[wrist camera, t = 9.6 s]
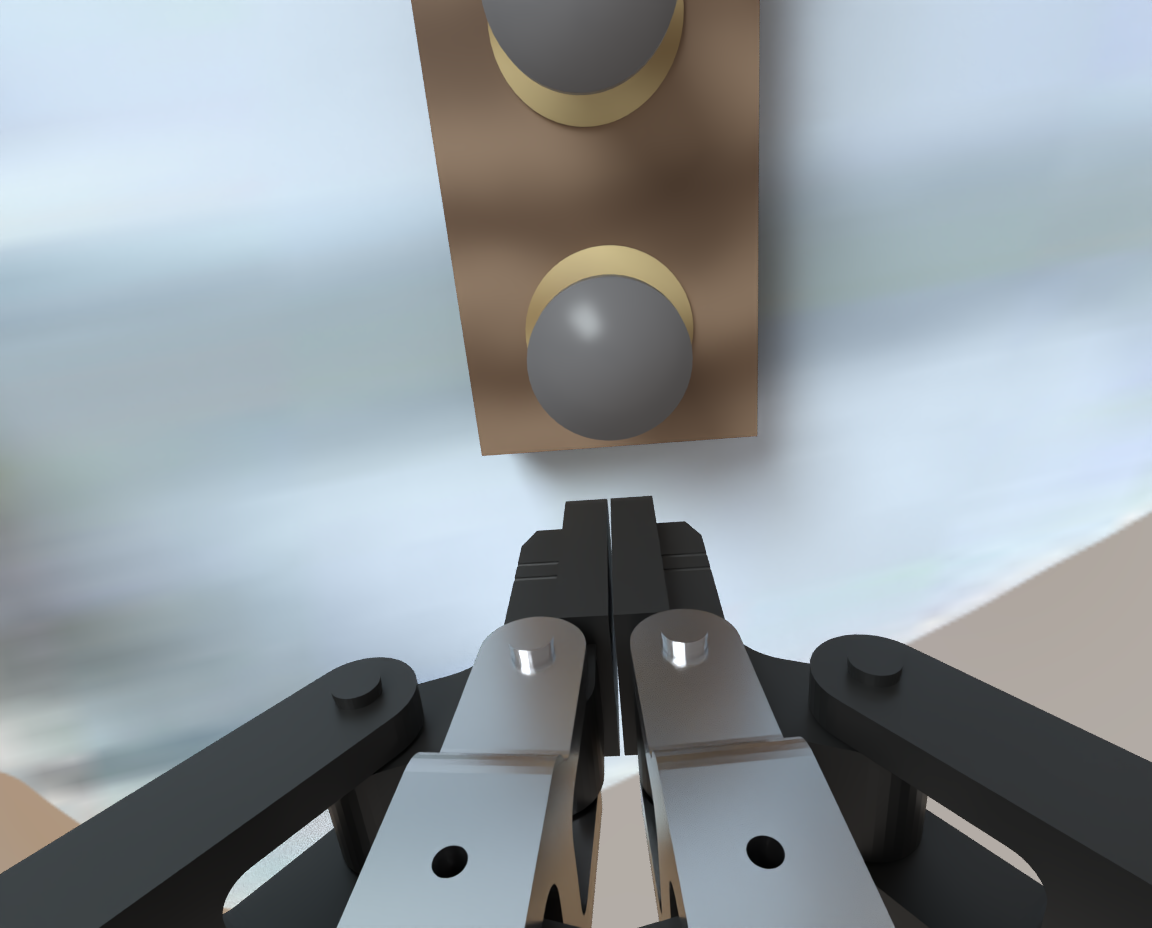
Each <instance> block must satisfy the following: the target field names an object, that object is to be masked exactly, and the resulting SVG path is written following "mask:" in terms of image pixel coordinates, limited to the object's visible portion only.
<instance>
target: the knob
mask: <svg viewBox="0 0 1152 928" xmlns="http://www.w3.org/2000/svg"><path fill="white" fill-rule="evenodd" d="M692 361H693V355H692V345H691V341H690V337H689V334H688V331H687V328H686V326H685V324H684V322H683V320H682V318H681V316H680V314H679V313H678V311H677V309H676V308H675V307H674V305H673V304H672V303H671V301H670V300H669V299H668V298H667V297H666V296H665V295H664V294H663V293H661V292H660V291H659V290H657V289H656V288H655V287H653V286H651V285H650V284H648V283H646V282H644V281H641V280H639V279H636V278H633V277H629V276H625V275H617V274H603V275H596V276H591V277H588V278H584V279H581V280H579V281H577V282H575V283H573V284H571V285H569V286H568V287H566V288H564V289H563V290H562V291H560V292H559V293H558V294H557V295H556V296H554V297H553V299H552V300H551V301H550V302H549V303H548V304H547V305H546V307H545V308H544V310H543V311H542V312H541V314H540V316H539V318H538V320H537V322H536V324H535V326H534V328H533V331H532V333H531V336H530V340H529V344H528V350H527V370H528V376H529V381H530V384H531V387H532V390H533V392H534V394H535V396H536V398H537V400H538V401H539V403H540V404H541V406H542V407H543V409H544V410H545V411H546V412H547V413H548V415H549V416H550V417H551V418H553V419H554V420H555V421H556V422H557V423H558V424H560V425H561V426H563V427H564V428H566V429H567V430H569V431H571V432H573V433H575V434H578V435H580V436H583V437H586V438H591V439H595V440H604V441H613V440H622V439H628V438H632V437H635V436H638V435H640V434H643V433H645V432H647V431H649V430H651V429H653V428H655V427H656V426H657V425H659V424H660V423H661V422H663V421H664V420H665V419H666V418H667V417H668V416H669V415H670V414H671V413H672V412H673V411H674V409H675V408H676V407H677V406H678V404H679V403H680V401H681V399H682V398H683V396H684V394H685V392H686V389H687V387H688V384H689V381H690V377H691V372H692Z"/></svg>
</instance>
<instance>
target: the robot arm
mask: <svg viewBox="0 0 1152 928" xmlns="http://www.w3.org/2000/svg"><path fill="white" fill-rule="evenodd" d="M611 536H612V550H611V537H610V524H609V512H608V502H607V499H598V500H583V501H567V502H566V503H565V511H564V520H563V528H562V529H558V530H542V531H537V532H536V533H535V534H534V535H533V536H532V537H531V538H530V539H529V540H528V541H527V542H526V543H525V544H524V545H523V546H522V548H521V552H520V557H519V561H518V567H517V570H516V575H515V581H514V583H513V588H512V592H511V597H510V601H509V606H508V610H507V615H506V619H505V624H504V626H502V627H500V628H498V629H497V630H495V631H494V632H492V633H491V634H490V635H489V636H488V637H487V638H486V639H485V640H484V642H483V643H482V645H481V647H480V649H479V652H478V654H477V657H476V660H475V662H474V665H473V666H472V667H471V668H469V669H466V670H464V671H462V672H459V673H456V674H453V675H450V676H447V677H443V678H439V679H436V680H432V681H428V682H425V683H421V684H418V683H417V679H416V675H415V673H414V671H413V670H412V668H411V667H410V666H408V665H407V664H406V663H404V662H402V661H400V660H396V659H392V658H384V657H378V658H367V659H362V660H357V661H354V662H351V663H348V664H345V665H342V666H340V667H338V668H336V669H334V670H332V671H330V672H328V673H327V674H325V675H324V676H322V677H320V678H319V679H317V680H315V681H314V682H312V683H310V684H309V685H307V686H306V687H304V688H302V689H301V690H299V691H297V692H296V693H294V694H293V695H291V696H289V697H288V698H286V699H284V700H283V701H281V702H280V703H278V704H276V705H275V706H273V707H271V708H270V709H268V710H267V711H265V712H263V713H262V714H260V715H258V716H257V717H255V718H254V719H252V720H250V721H249V722H247V723H245V724H244V725H242V726H241V727H239V728H237V729H236V730H234V731H232V732H231V733H229V734H227V735H226V736H224V737H223V738H221V739H219V740H218V741H216V742H214V743H213V744H211V745H210V746H208V747H206V748H205V749H203V750H201V751H200V752H198V753H197V754H195V755H193V756H192V757H190V758H188V759H187V760H185V761H184V762H182V763H180V764H179V765H177V766H175V767H174V768H172V769H171V770H169V771H167V772H166V773H164V774H162V775H161V776H159V777H157V778H156V779H154V780H153V781H151V782H149V783H148V784H146V785H144V786H143V787H141V788H140V789H138V790H136V791H135V792H133V793H131V794H130V795H128V796H127V797H125V798H123V799H122V800H120V801H118V802H117V803H115V804H114V805H112V806H110V807H109V808H107V809H105V810H104V811H102V812H101V813H99V814H97V815H96V816H94V817H92V818H91V819H89V820H87V821H86V822H84V823H83V824H81V825H79V826H78V827H76V828H75V829H73V830H71V831H70V832H68V833H66V834H65V835H63V836H61V837H60V838H58V839H57V840H55V841H53V842H52V843H50V844H48V845H47V846H45V847H44V848H42V849H40V850H39V851H37V852H36V853H34V854H32V855H31V856H29V857H27V858H26V859H24V860H22V861H21V862H19V863H18V864H16V865H14V866H13V867H11V868H9V869H8V870H6V871H4V872H3V873H1V874H0V928H591V926H592V914H593V904H594V893H595V882H596V870H597V860H598V850H599V839H600V828H601V815H602V796H601V788H602V785H603V782H604V756H620V739H619V705H618V678H619V691H620V703H621V715H622V727H623V740H624V752H625V755H638V762H639V775H640V788H641V802H642V811H643V818H644V825H645V831H646V838H647V845H648V851H649V858H650V864H651V871H652V877H653V884H654V891H655V897H656V903H657V910H658V917H659V922H656V923H653V924H649V925H646V926H643V927H639V928H1152V762H1150V761H1148V760H1146V759H1144V758H1141V757H1139V756H1137V755H1135V754H1133V753H1131V752H1129V751H1127V750H1125V749H1123V748H1121V747H1118V746H1116V745H1114V744H1112V743H1110V742H1108V741H1106V740H1104V739H1102V738H1100V737H1097V736H1096V735H1093V734H1091V733H1089V732H1087V731H1085V730H1083V729H1081V728H1079V727H1077V726H1075V725H1072V724H1070V723H1068V722H1066V721H1064V720H1062V719H1060V718H1058V717H1056V716H1054V715H1052V714H1050V713H1047V712H1045V711H1043V710H1041V709H1039V708H1037V707H1035V706H1033V705H1031V704H1029V703H1027V702H1024V701H1022V700H1020V699H1018V698H1016V697H1014V696H1012V695H1010V694H1008V693H1006V692H1004V691H1001V690H999V689H997V688H995V687H993V686H991V685H989V684H987V683H984V682H983V681H981V680H978V679H976V678H974V677H972V676H970V675H968V674H966V673H964V672H962V671H960V670H958V669H955V668H953V667H951V666H949V665H947V664H945V663H943V662H941V661H939V660H937V659H935V658H932V657H930V656H928V655H926V654H924V653H922V652H920V651H917V650H916V649H913V648H912V647H909V646H907V645H905V644H903V643H900V642H898V641H895V640H891V639H888V638H884V637H879V636H873V635H845V636H840V637H836V638H833V639H830V640H828V641H826V642H824V643H822V644H821V645H820V646H818V647H817V648H816V649H815V651H814V652H813V654H812V656H811V659H810V664H809V663H803V662H797V661H791V660H785V659H780V658H775V657H771V656H768V655H765V654H762V653H759V652H757V651H755V650H752V649H751V648H749V647H747V646H745V645H744V644H743V642H742V640H741V638H740V635H739V634H738V632H737V630H736V629H735V628H734V627H733V626H732V624H730V623H729V622H728V621H726V620H725V618H724V615H723V611H722V607H721V604H720V600H719V597H718V593H717V589H716V586H715V582H714V579H713V575H712V572H711V570H710V564H709V561H708V557H707V555H706V550H705V546H704V543H703V539H702V536H701V534H699V533H698V532H697V531H696V530H695V529H693V528H692V527H691V526H690V525H689V524H687V523H686V522H685V521H684V522H668V523H656V518H655V511H654V505H653V498H652V496H642V497H627V498H611ZM617 666H618V670H617ZM927 796H929V797H930V798H932V799H933V800H935V801H936V802H938V803H940V804H941V805H943V806H944V807H946V808H948V809H949V810H951V811H952V812H954V813H955V814H957V815H958V816H960V817H962V818H963V819H965V820H966V821H968V822H969V823H971V824H972V825H974V826H976V827H977V828H979V829H980V830H982V831H983V832H985V833H987V834H988V835H990V836H991V837H993V838H994V839H996V840H998V841H999V842H1001V843H1002V844H1004V845H1005V846H1007V847H1009V848H1010V849H1011V850H1013V851H1014V852H1016V853H1017V854H1018V855H1019V856H1021V857H1022V858H1023V859H1024V860H1025V861H1026V862H1027V863H1028V864H1029V865H1030V866H1031V868H1032V869H1033V870H1034V871H1035V872H1036V874H1037V876H1038V877H1039V879H1040V880H1041V882H1042V884H1043V885H1041V884H1040V883H1038V882H1036V881H1035V880H1033V879H1032V878H1030V877H1029V876H1027V875H1026V874H1024V873H1023V872H1021V871H1020V870H1018V869H1017V868H1015V867H1014V866H1012V865H1011V864H1009V863H1008V862H1006V861H1004V860H1003V859H1001V858H1000V857H998V856H997V855H995V854H994V853H992V852H991V851H989V850H987V849H986V848H985V847H983V846H982V845H980V844H978V843H977V842H975V841H974V840H972V839H971V838H969V837H968V836H966V835H965V834H963V833H962V832H960V831H959V830H957V829H956V828H954V827H953V826H951V825H949V824H948V823H946V822H945V821H943V820H942V819H940V818H939V817H937V816H936V815H934V814H933V813H931V812H930V811H928V810H926V803H927ZM326 809H329V813H330V816H331V819H332V823H333V826H334V828H333V829H332V830H331V831H330V832H328V833H327V834H326V835H325V836H323V837H322V838H321V839H320V840H318V841H317V842H316V843H315V844H313V845H312V846H311V847H310V848H308V849H307V850H306V851H304V852H303V853H302V854H301V855H299V856H298V857H297V858H296V859H294V860H293V861H292V862H291V863H289V864H288V865H287V866H286V867H284V868H283V869H282V870H281V871H279V872H278V873H277V874H276V875H274V876H273V877H272V878H270V879H269V880H268V881H267V882H265V883H264V884H263V885H262V886H260V887H259V888H258V889H257V890H255V891H254V892H253V893H252V894H250V895H249V896H248V897H247V898H245V899H244V900H243V901H241V902H240V903H239V904H238V905H236V906H235V907H234V908H232V909H231V910H230V911H228V912H226V913H224V914H222V913H223V906H224V903H225V900H226V898H227V896H228V894H229V892H230V890H231V888H232V887H233V885H234V884H235V883H236V881H237V880H238V879H239V878H240V877H241V876H242V875H243V874H244V873H245V872H246V871H247V870H248V869H250V868H251V867H252V866H253V865H255V864H256V863H257V862H259V861H260V860H261V859H262V858H264V857H265V856H266V855H268V854H269V853H270V852H272V851H273V850H274V849H276V848H277V847H278V846H279V845H281V844H282V843H283V842H285V841H286V840H287V839H289V838H290V837H291V836H292V835H294V834H295V833H296V832H298V831H299V830H300V829H302V828H303V827H304V826H306V825H307V824H308V823H309V822H311V821H312V820H313V819H315V818H316V817H317V816H319V815H320V814H321V813H323V812H324V811H325V810H326Z"/></svg>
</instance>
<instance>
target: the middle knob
mask: <svg viewBox="0 0 1152 928" xmlns="http://www.w3.org/2000/svg"><path fill="white" fill-rule="evenodd" d="M676 2H677V0H482V4H483V8H484V11H485V15H486V18H487V21H488V23H489V26H490V28H491V30H492V33H493V35H494V36H495V38H496V40H497V42H498V43H499V45H500V47H501V48H502V49H503V51H504V52H505V53H506V55H507V56H508V57H509V59H510V60H511V61H512V62H513V63H514V64H515V65H516V66H517V68H518V69H519V70H520V71H521V72H522V73H524V74H525V75H526V76H527V77H529V78H530V79H531V80H533V81H534V82H536V83H538V84H539V85H541V86H543V87H545V88H548V89H550V90H552V91H555V92H559V93H563V94H569V95H591V94H596V93H601V92H604V91H607V90H610V89H613V88H615V87H617V86H619V85H621V84H623V83H624V82H626V81H627V80H628V79H630V78H631V77H633V76H634V75H635V74H636V73H637V72H639V71H640V70H641V69H642V68H643V67H644V66H645V65H646V63H647V62H648V61H649V60H650V59H651V58H652V56H653V55H654V53H655V52H656V50H657V49H658V47H659V46H660V44H661V42H662V40H663V38H664V36H665V34H666V32H667V29H668V27H669V24H670V21H671V19H672V16H673V13H674V10H675V6H676Z"/></svg>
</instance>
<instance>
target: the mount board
mask: <svg viewBox="0 0 1152 928" xmlns="http://www.w3.org/2000/svg"><path fill="white" fill-rule="evenodd" d="M411 3H412V10H413V16H414V22H415V29H416V35H417V42H418V48H419V55H420V61H421V67H422V74H423V80H424V87H425V93H426V99H427V106H428V112H429V119H430V125H431V132H432V138H433V144H434V151H435V157H436V164H437V170H438V176H439V183H440V189H441V196H442V202H443V209H444V215H445V221H446V228H447V234H448V241H449V247H450V253H451V260H452V266H453V273H454V279H455V286H456V292H457V298H458V305H459V311H460V318H461V324H462V330H463V337H464V343H465V350H466V356H467V363H468V369H469V375H470V382H471V388H472V395H473V401H474V407H475V414H476V420H477V427H478V433H479V440H480V446H481V452H482V456H487V455H501V454H515V453H529V452H542V451H556V450H570V449H584V448H598V447H612V446H626V445H640V444H654V443H668V442H682V441H696V440H709V439H723V438H737V437H751V436H757V389H758V202H759V14H760V0H677V2H676V6H675V10H674V13H673V16H672V19H671V21H670V24H669V27H668V29H667V32H666V34H665V36H664V38H663V40H662V42H661V44H660V46H659V47H658V49H657V50H656V52H655V53H654V55H653V56H652V58H651V59H650V60H649V61H648V62H647V63H646V65H645V66H644V67H643V68H642V69H641V70H640V71H639V72H637V73H636V74H635V75H634V76H633V77H631V78H630V79H628V80H627V81H626V82H624V83H623V84H621V85H619V86H617V87H615V88H613V89H610V90H607V91H604V92H601V93H596V94H591V95H569V94H563V93H559V92H555V91H552V90H550V89H548V88H545V87H543V86H541V85H539V84H538V83H536V82H534V81H533V80H531V79H530V78H529V77H527V76H526V75H525V74H524V73H522V72H521V71H520V70H519V69H518V68H517V66H516V65H515V64H514V63H513V62H512V61H511V60H510V59H509V57H508V56H507V55H506V53H505V52H504V51H503V49H502V48H501V47H500V45H499V43H498V42H497V40H496V38H495V36H494V35H493V33H492V30H491V28H490V26H489V23H488V21H487V18H486V15H485V11H484V8H483V4H482V0H411ZM603 274H617V275H625V276H629V277H633V278H636V279H639V280H641V281H644V282H646V283H648V284H650V285H651V286H653V287H655V288H656V289H657V290H659V291H660V292H661V293H663V294H664V295H665V296H666V297H667V298H668V299H669V300H670V301H671V303H672V304H673V305H674V307H675V308H676V309H677V311H678V313H679V314H680V316H681V318H682V320H683V322H684V324H685V326H686V328H687V331H688V334H689V337H690V341H691V345H692V355H693V361H692V372H691V377H690V381H689V384H688V387H687V389H686V392H685V394H684V396H683V398H682V399H681V401H680V403H679V404H678V406H677V407H676V408H675V409H674V411H673V412H672V413H671V414H670V415H669V416H668V417H667V418H666V419H665V420H664V421H663V422H661V423H660V424H659V425H657V426H656V427H655V428H653V429H651V430H649V431H647V432H645V433H643V434H640V435H638V436H635V437H632V438H628V439H622V440H613V441H604V440H595V439H591V438H586V437H583V436H580V435H578V434H575V433H573V432H571V431H569V430H567V429H566V428H564V427H563V426H561V425H560V424H558V423H557V422H556V421H555V420H554V419H553V418H551V417H550V416H549V415H548V413H547V412H546V411H545V410H544V409H543V407H542V406H541V404H540V403H539V401H538V400H537V398H536V396H535V394H534V392H533V390H532V387H531V384H530V381H529V376H528V370H527V350H528V344H529V340H530V336H531V333H532V331H533V328H534V326H535V324H536V322H537V320H538V318H539V316H540V314H541V312H542V311H543V310H544V308H545V307H546V305H547V304H548V303H549V302H550V301H551V300H552V299H553V297H554V296H556V295H557V294H558V293H559V292H560V291H562V290H563V289H564V288H566V287H568V286H569V285H571V284H573V283H575V282H577V281H579V280H581V279H584V278H588V277H591V276H596V275H603Z"/></svg>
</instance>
